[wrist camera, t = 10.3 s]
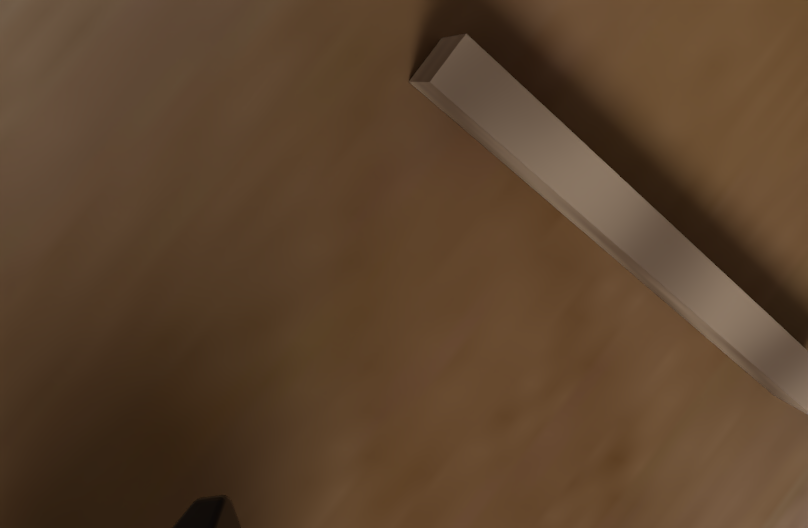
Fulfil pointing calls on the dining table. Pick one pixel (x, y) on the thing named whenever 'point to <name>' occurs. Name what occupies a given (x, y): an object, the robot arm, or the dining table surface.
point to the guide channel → (609, 211)
